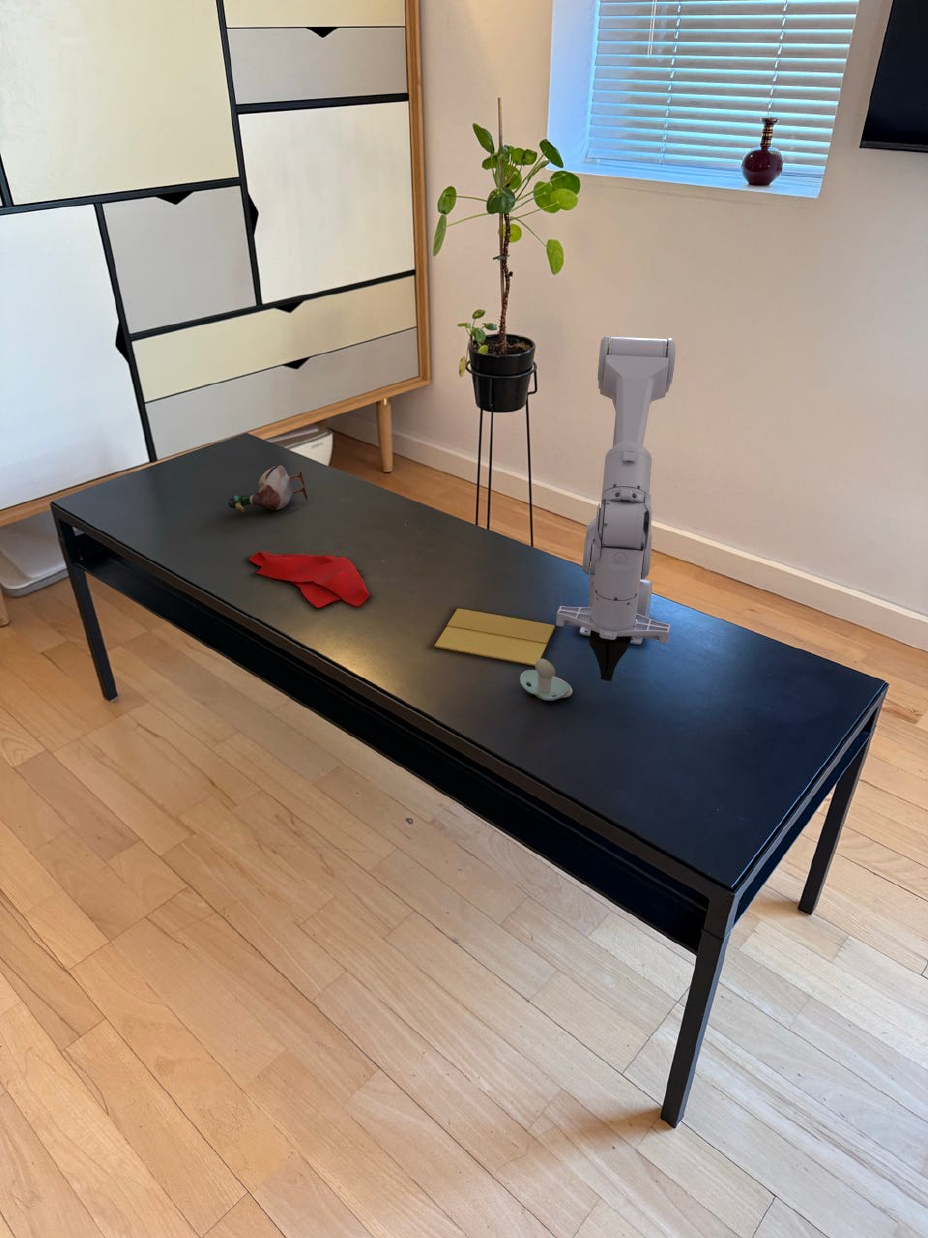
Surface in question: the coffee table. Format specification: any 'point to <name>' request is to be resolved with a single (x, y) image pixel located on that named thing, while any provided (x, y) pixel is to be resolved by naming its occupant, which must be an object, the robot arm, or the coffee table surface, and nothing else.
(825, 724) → the coffee table surface
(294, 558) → the cloth
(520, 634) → the envelope
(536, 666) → the pacifier
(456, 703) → the coffee table surface
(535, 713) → the coffee table surface
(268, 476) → the decorative duck model
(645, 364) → the robot arm
